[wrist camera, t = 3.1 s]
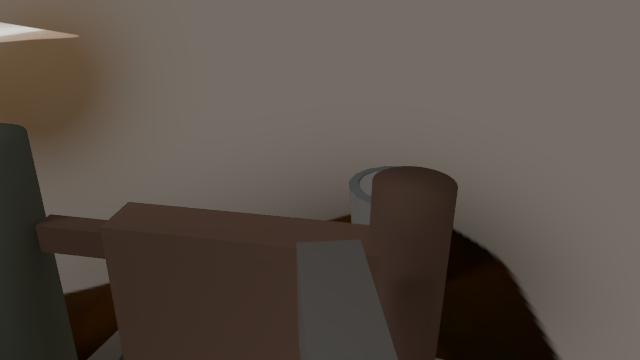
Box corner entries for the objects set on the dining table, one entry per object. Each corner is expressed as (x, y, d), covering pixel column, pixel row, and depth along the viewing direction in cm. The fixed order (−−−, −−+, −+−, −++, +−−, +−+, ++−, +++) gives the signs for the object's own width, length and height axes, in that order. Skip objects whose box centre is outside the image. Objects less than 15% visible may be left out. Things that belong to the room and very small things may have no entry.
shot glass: (336, 251, 41) (338, 167, 39) (421, 243, 43) (430, 161, 40) (358, 306, 35) (362, 212, 32) (456, 296, 36) (470, 203, 34)
